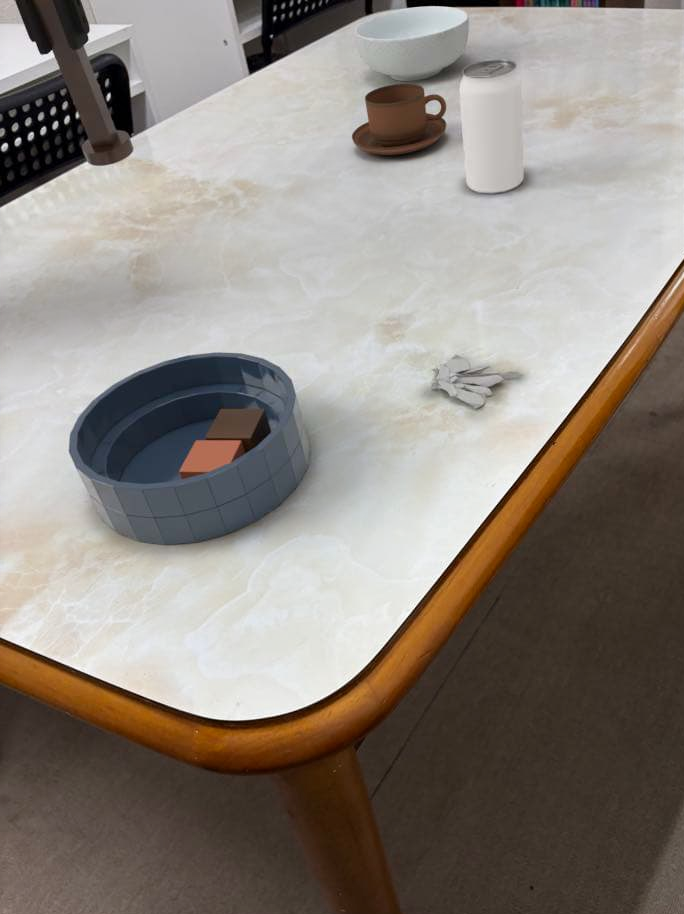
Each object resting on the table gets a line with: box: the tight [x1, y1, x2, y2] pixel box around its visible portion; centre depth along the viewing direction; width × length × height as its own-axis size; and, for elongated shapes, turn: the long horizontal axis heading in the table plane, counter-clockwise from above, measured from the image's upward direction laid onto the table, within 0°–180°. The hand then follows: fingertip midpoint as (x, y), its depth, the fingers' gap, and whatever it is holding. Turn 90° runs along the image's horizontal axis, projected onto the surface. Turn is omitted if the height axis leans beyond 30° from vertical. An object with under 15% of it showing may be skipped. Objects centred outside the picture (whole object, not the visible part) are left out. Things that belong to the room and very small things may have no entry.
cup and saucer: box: [351, 83, 447, 156], centre depth 107 cm, size 12×12×6 cm
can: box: [459, 58, 525, 195], centre depth 93 cm, size 6×6×12 cm
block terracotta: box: [179, 440, 246, 479], centre depth 60 cm, size 4×4×4 cm
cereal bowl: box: [354, 5, 470, 82], centre depth 128 cm, size 17×17×7 cm
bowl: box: [68, 351, 311, 546], centre depth 63 cm, size 16×16×6 cm
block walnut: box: [205, 409, 271, 453], centre depth 63 cm, size 4×4×4 cm
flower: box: [430, 354, 524, 409], centre depth 68 cm, size 8×8×3 cm
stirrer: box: [32, 0, 134, 167], centre depth 73 cm, size 4×4×15 cm
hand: (64, 45), depth 71 cm, fingers closed on stirrer, 2 cm apart
